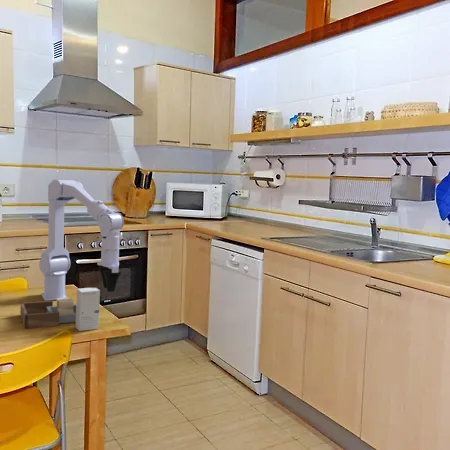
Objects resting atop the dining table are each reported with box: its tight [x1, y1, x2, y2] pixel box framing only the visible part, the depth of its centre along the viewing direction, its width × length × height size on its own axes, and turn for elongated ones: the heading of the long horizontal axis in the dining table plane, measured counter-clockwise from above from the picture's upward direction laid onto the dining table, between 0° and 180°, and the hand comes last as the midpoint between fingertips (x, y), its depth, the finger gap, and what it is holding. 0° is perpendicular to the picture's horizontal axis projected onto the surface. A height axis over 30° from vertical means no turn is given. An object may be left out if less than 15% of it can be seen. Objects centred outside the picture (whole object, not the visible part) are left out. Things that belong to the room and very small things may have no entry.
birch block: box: [56, 297, 75, 315], centre depth 156 cm, size 4×4×5 cm
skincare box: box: [75, 287, 101, 332], centre depth 148 cm, size 6×4×12 cm
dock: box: [20, 300, 60, 329], centre depth 153 cm, size 14×10×4 cm
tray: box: [46, 304, 76, 324], centre depth 157 cm, size 13×14×4 cm
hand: (108, 289), depth 162 cm, fingers open, 4 cm apart
